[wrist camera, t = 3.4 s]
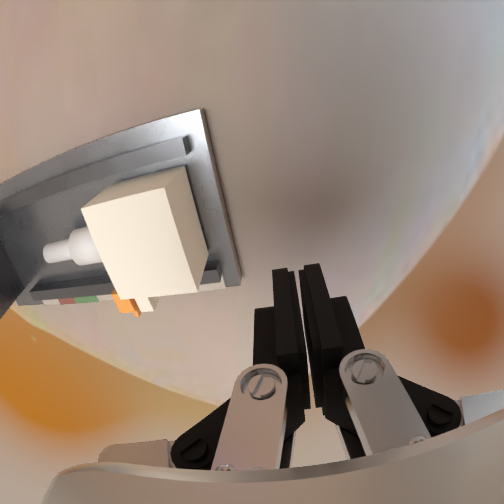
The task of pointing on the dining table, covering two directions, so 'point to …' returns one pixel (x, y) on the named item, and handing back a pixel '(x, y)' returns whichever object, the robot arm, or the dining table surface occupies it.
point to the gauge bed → (89, 186)
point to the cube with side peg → (141, 237)
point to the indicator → (126, 304)
